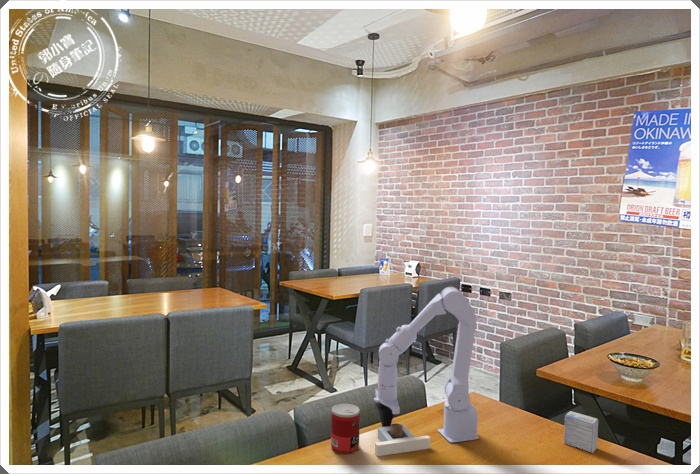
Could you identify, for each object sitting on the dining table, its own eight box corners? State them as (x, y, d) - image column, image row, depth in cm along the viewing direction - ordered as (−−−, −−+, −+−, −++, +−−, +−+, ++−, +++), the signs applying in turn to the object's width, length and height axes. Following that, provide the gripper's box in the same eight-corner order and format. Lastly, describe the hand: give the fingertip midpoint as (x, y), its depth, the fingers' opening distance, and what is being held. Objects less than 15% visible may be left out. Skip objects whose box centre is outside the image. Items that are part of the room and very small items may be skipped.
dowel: (399, 439, 132) (399, 422, 132) (403, 445, 129) (404, 428, 128) (388, 441, 131) (388, 424, 131) (392, 446, 128) (393, 429, 127)
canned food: (356, 456, 122) (357, 416, 122) (327, 452, 124) (328, 413, 123) (361, 442, 130) (362, 405, 129) (334, 439, 131) (335, 402, 131)
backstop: (427, 445, 129) (427, 435, 129) (430, 448, 127) (430, 438, 127) (374, 453, 124) (375, 442, 124) (376, 456, 122) (377, 445, 122)
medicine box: (597, 448, 130) (599, 418, 129) (593, 454, 126) (594, 423, 126) (568, 438, 135) (569, 410, 135) (563, 443, 132) (564, 414, 131)
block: (402, 434, 135) (402, 424, 135) (414, 447, 128) (414, 437, 127) (377, 437, 133) (377, 427, 133) (388, 451, 125) (388, 440, 125)
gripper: (366, 376, 142) (365, 418, 143) (384, 393, 128) (383, 440, 129) (387, 374, 144) (386, 416, 145) (407, 391, 130) (405, 437, 131)
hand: (386, 427), depth 137 cm, fingers closed
